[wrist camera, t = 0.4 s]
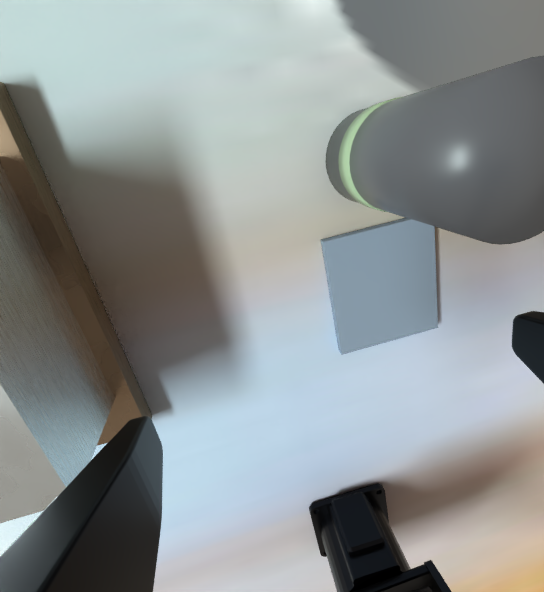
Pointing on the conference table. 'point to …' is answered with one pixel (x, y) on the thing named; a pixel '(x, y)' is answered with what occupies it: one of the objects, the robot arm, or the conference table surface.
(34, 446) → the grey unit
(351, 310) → the slate mat
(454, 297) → the conference table surface
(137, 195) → the conference table surface
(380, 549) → the robot arm
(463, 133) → the cartridge
